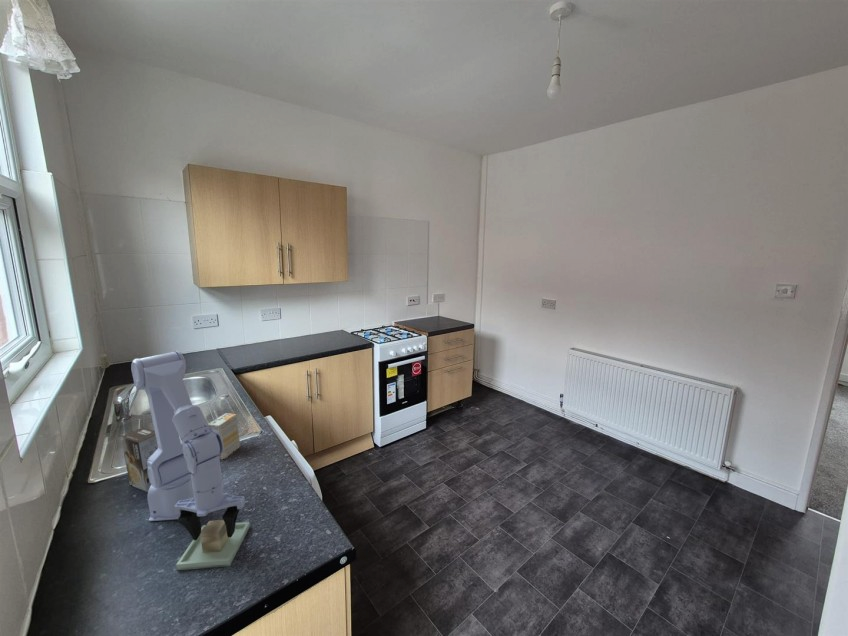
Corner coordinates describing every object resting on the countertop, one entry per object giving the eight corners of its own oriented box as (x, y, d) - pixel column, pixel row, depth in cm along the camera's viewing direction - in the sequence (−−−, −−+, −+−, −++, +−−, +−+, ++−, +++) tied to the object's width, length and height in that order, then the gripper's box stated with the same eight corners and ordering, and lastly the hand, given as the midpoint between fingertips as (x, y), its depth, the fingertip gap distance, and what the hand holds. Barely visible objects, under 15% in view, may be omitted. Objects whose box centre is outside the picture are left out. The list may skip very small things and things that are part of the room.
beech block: (202, 552, 80) (200, 534, 79) (211, 538, 84) (209, 520, 83) (220, 551, 80) (218, 532, 79) (228, 537, 84) (226, 519, 83)
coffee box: (170, 479, 107) (162, 432, 104) (147, 493, 101) (138, 442, 98) (151, 472, 110) (143, 426, 107) (127, 485, 104) (119, 436, 101)
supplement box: (229, 446, 125) (225, 412, 123) (241, 447, 124) (237, 413, 122) (211, 459, 117) (206, 423, 115) (223, 460, 116) (219, 425, 114)
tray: (176, 570, 76) (176, 564, 76) (203, 530, 87) (202, 525, 87) (230, 565, 77) (229, 560, 77) (249, 527, 88) (249, 521, 88)
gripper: (162, 498, 74) (171, 552, 77) (233, 493, 76) (239, 546, 78) (181, 477, 81) (189, 527, 84) (246, 473, 83) (251, 523, 85)
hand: (214, 535), depth 82 cm, fingers open, 7 cm apart
